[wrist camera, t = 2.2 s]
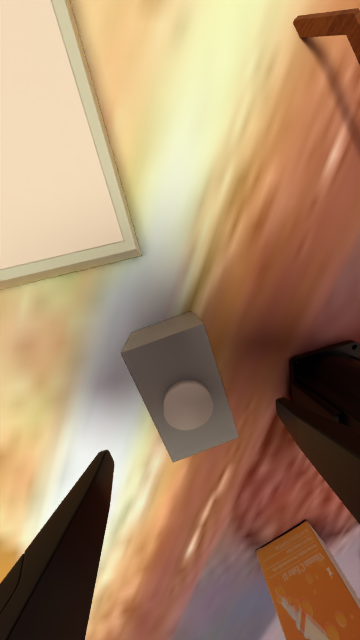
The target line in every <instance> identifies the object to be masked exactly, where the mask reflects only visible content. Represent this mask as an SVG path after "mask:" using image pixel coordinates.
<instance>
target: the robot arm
mask: <svg viewBox="0 0 360 640" xmlns="http://www.w3.org/2000/svg"><path fill="white" fill-rule="evenodd" d="M359 347H360V345H359V343H358V342H355V341H352V340H351V341H347V342H343V343H340V344H336V345H333V346H329V347H326V348H322V349H319V350H316V351H312V352H309V353H305V354H302V355H298V356H295V357H293V358H291V360H290V376H291V393H292V401H291V400H288V399H286V398H284V397H282V398H278V399H276V410H277V414H278V416H279V418H280V419H281V421H282V422H283V424H284V425H285V427H286V428H287V430H288V431H289V433H290V434H291V436H292V437H293V439H294V440H295V442H296V443H297V445H298V446H299V448H300V449H301V450H302V452H303V453H304V454H305V455H306V457H307V458H308V459H309V461H310V462H311V463H312V464H313V466H314V467H315V468H316V469H317V471H318V472H319V473H320V475H321V476H322V477H323V478H324V480H325V481H326V482H327V483H328V485H329V486H330V487H331V489H332V490H333V491H334V492H335V494H336V495H337V496H338V497H339V499H340V500H341V501H342V502H343V504H344V505H345V506H346V508H347V509H348V510H349V511H350V513H351V514H352V515H353V516H354V518H355V519H356V520H357V522H358V523H359V524H360V358H359ZM296 362H297V363H296ZM113 473H114V461H113V458H112V456H111V454H110V452H109V450H104V451H101V452H99V453H98V454H97V456H96V457H95V458H94V460H93V461H92V462H91V464H90V465H89V466H88V468H87V469H86V470H85V472H84V473H83V474H82V476H81V477H80V478H79V480H78V481H77V482H76V484H75V485H74V486H73V488H72V489H71V490H70V492H69V493H68V494H67V496H66V497H65V498H64V500H63V501H62V502H61V504H60V505H59V506H58V508H57V509H56V510H55V512H54V513H53V514H52V516H51V517H50V518H49V520H48V521H47V522H46V524H45V525H44V526H43V528H42V529H41V530H40V532H39V533H38V534H37V536H36V537H35V538H34V540H33V541H32V542H31V544H30V545H29V546H28V548H27V549H26V550H25V553H24V554H22V556H21V557H20V558H19V560H18V561H17V562H16V564H15V565H14V566H13V568H12V569H11V570H10V572H9V573H8V574H7V575H6V577H5V578H4V579H3V581H2V582H1V583H0V640H85V635H86V630H87V625H88V620H89V614H90V609H91V604H92V598H93V593H94V588H95V583H96V577H97V572H98V567H99V561H100V556H101V551H102V546H103V540H104V535H105V530H106V524H107V519H108V514H109V508H110V501H111V491H112V482H113Z"/></svg>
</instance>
